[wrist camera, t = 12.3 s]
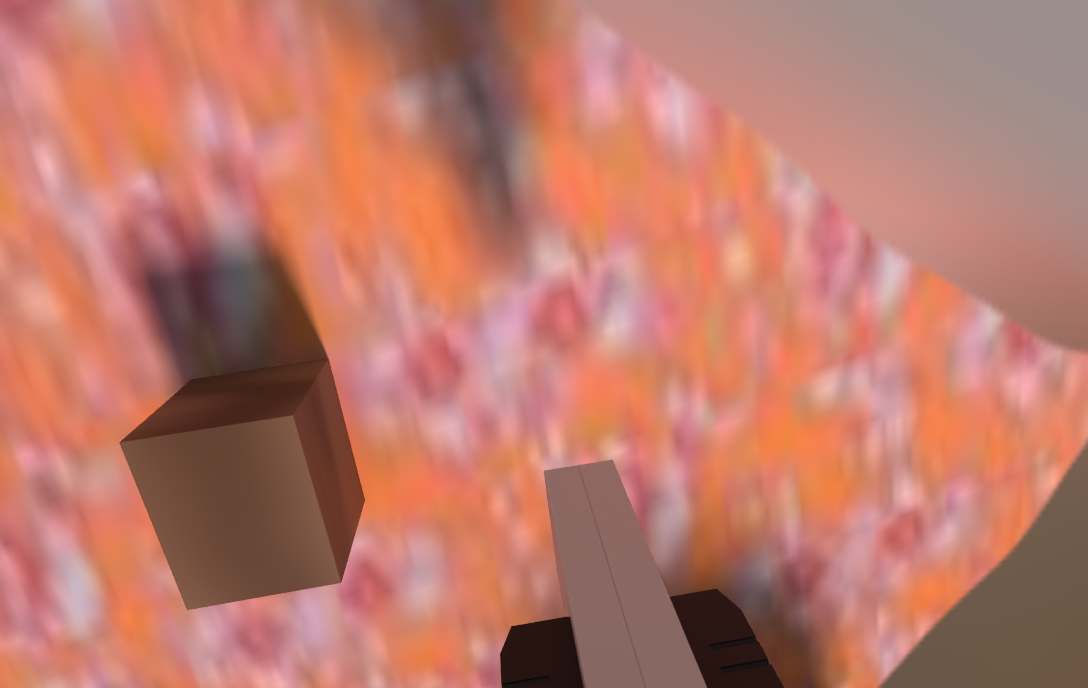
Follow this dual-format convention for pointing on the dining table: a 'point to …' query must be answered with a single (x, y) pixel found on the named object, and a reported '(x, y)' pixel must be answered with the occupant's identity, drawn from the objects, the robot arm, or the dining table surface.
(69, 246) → the dining table surface
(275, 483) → the block
